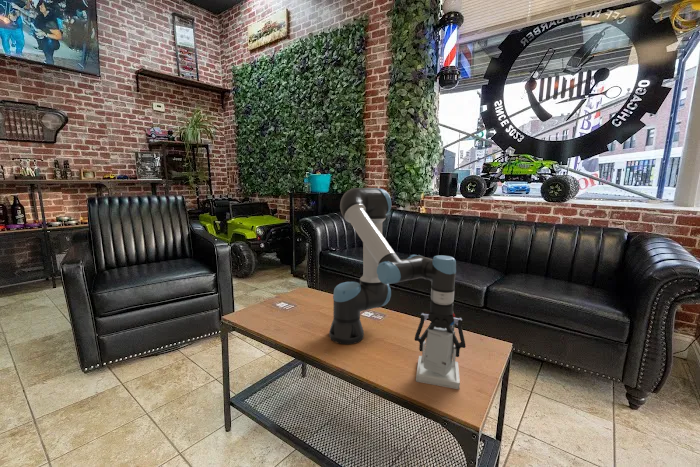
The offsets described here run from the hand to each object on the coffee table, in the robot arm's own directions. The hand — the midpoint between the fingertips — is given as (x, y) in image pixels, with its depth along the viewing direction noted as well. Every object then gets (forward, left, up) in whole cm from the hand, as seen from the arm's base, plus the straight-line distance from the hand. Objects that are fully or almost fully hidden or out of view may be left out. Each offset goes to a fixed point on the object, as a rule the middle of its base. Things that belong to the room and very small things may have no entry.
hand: (438, 361), depth 109 cm
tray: (0, 0, -5) cm, 5 cm away
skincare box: (0, 0, -3) cm, 3 cm away
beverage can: (+3, +30, -5) cm, 31 cm away
